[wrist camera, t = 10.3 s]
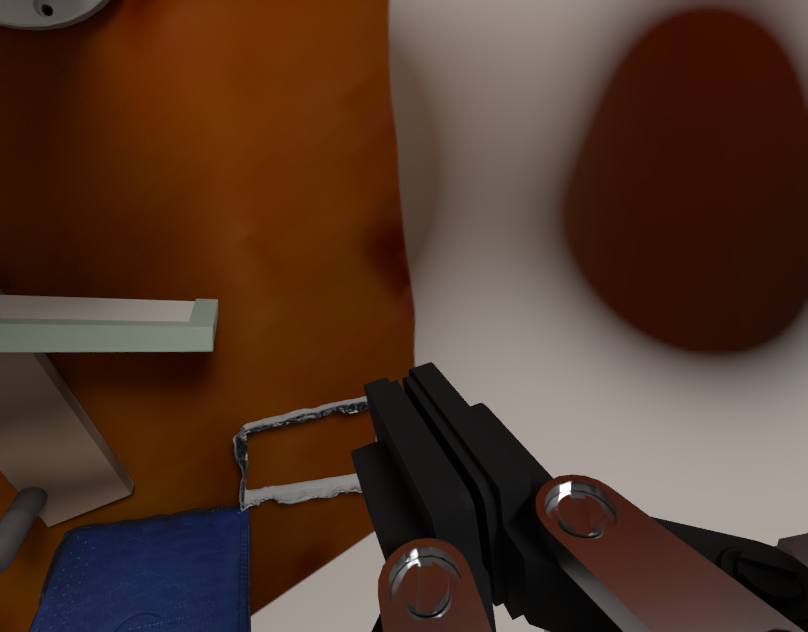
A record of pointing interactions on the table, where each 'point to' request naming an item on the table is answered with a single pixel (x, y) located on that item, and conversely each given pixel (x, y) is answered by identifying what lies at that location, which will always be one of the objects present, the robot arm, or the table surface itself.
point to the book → (152, 575)
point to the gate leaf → (106, 324)
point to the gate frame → (49, 451)
